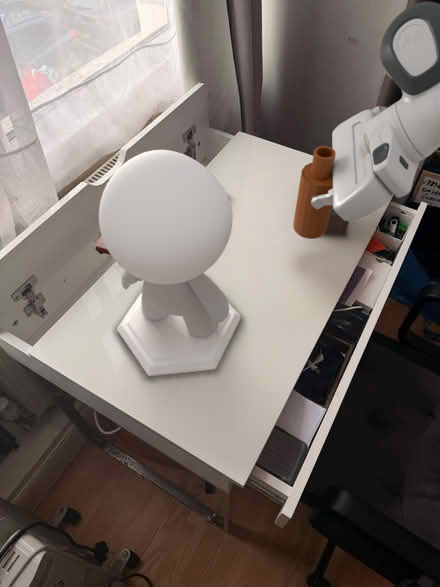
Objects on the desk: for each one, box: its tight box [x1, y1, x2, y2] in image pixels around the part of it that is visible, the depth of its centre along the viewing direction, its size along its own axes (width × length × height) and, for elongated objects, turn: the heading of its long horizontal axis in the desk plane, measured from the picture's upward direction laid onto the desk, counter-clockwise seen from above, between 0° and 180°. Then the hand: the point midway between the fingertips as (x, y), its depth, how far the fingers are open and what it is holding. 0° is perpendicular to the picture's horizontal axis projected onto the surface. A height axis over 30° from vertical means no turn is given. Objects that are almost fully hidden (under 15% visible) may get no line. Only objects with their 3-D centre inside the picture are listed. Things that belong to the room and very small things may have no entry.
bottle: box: [293, 145, 336, 240], centre depth 73 cm, size 6×6×16 cm
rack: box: [324, 206, 350, 236], centre depth 96 cm, size 8×16×6 cm, turn 171°
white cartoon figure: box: [98, 149, 242, 377], centre depth 67 cm, size 20×23×35 cm
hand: (313, 188), depth 72 cm, fingers closed on bottle, 6 cm apart
